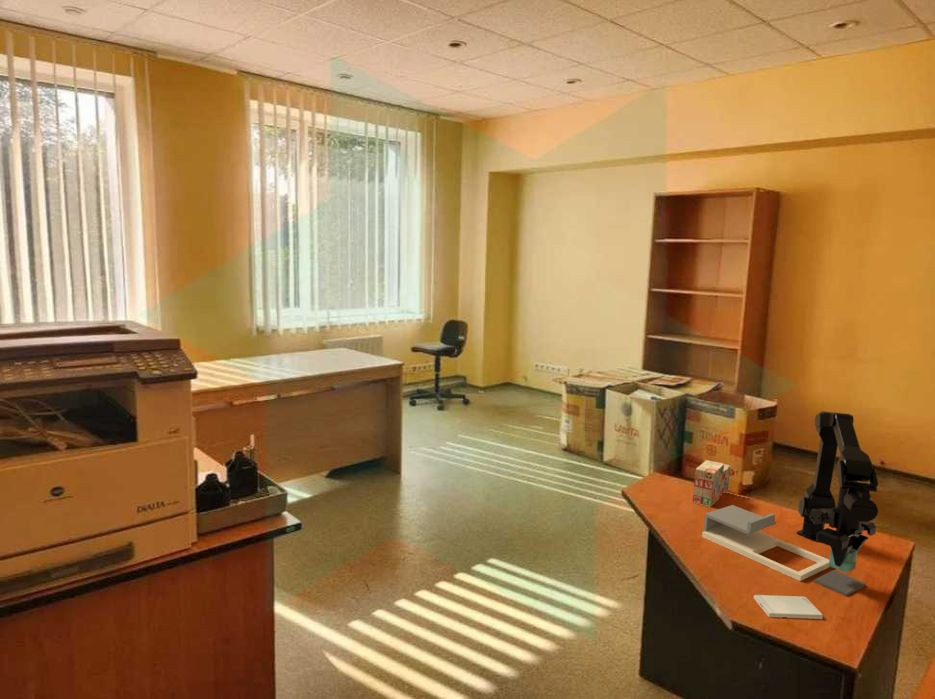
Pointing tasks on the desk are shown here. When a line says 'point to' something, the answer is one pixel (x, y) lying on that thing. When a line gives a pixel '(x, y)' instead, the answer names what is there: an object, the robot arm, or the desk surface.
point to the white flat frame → (764, 549)
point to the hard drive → (788, 606)
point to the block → (845, 561)
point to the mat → (840, 582)
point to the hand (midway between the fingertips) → (842, 563)
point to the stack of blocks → (710, 482)
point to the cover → (738, 519)
